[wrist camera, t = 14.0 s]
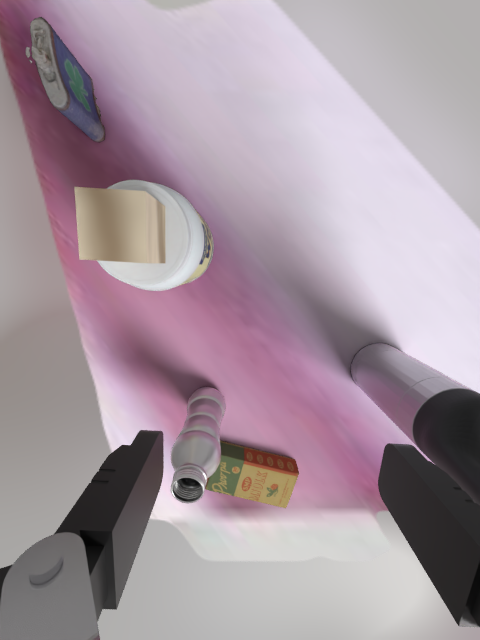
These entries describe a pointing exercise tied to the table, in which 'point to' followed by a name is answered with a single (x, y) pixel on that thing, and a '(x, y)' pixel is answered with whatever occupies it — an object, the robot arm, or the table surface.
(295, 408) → the table surface
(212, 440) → the plastic bottle
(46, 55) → the flask
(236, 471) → the carton
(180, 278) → the supplement tub
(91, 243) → the beech cube
